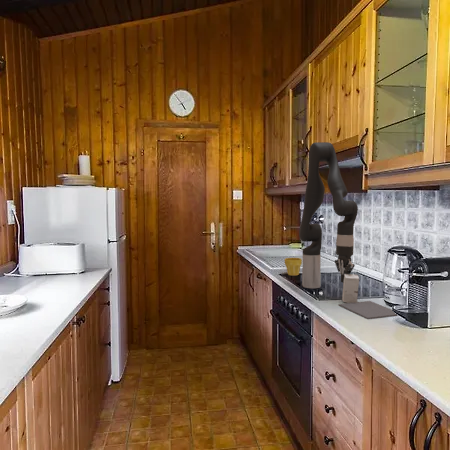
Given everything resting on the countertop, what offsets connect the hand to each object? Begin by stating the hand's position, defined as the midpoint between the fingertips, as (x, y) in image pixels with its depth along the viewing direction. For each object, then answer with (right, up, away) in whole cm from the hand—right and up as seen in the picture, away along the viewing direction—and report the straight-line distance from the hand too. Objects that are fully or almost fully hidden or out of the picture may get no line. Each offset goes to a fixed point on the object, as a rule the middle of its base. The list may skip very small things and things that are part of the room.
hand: (343, 282), depth 173 cm
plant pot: (-12, -5, +59) cm, 61 cm away
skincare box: (+2, -8, -2) cm, 9 cm away
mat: (+6, -9, -15) cm, 19 cm away
